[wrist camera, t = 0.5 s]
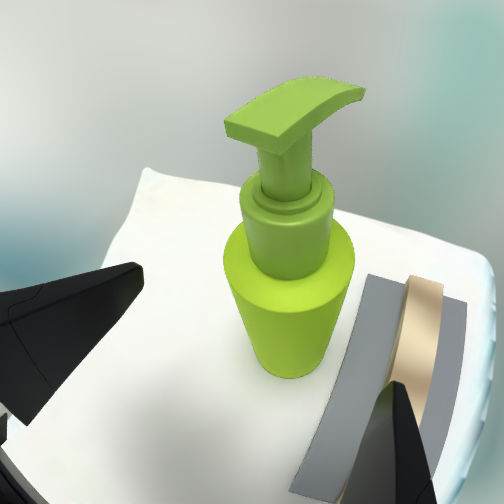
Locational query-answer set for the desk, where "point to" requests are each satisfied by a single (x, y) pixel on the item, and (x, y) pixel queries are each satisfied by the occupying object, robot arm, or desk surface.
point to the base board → (379, 389)
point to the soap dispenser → (289, 228)
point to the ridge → (415, 342)
